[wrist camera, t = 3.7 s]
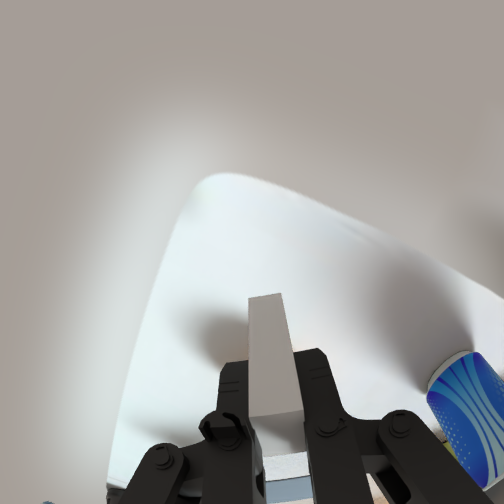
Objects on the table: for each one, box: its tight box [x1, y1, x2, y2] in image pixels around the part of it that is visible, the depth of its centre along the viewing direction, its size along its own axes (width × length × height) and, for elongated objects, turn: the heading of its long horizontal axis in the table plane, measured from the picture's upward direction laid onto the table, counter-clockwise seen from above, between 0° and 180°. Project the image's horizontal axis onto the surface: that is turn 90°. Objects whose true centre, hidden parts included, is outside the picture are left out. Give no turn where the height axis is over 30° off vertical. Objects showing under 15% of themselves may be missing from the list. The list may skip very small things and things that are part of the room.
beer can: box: [426, 351, 504, 491], centre depth 17 cm, size 8×8×16 cm
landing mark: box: [266, 476, 313, 504], centre depth 34 cm, size 13×13×1 cm
